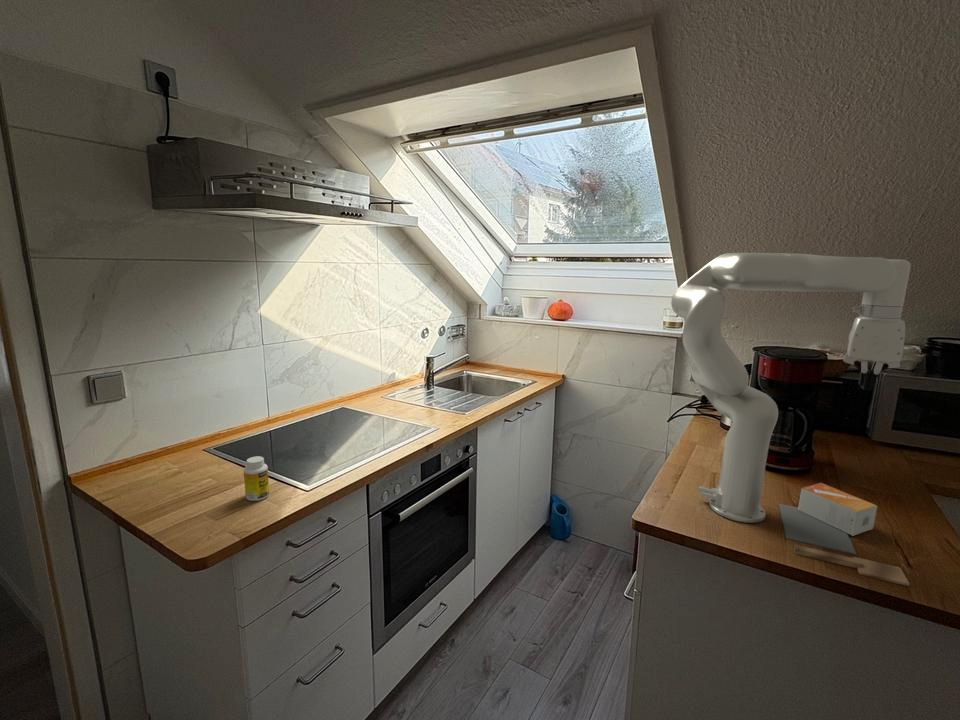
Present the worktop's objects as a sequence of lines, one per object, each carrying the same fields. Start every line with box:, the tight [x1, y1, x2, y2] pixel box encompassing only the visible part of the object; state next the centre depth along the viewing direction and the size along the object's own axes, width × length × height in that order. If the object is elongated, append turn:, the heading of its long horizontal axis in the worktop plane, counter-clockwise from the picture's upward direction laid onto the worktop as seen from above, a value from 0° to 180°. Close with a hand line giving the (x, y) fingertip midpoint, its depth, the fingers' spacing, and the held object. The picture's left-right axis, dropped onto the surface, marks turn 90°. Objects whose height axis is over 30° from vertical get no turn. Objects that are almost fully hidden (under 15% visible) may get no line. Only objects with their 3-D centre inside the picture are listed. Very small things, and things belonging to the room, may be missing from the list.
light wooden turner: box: [793, 544, 911, 587], centre depth 102 cm, size 19×6×1 cm, turn 64°
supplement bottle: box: [243, 455, 270, 502], centre depth 123 cm, size 6×6×10 cm
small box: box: [797, 482, 878, 537], centre depth 119 cm, size 8×6×13 cm
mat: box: [778, 503, 857, 556], centre depth 116 cm, size 13×18×1 cm
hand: (865, 388), depth 117 cm, fingers closed
